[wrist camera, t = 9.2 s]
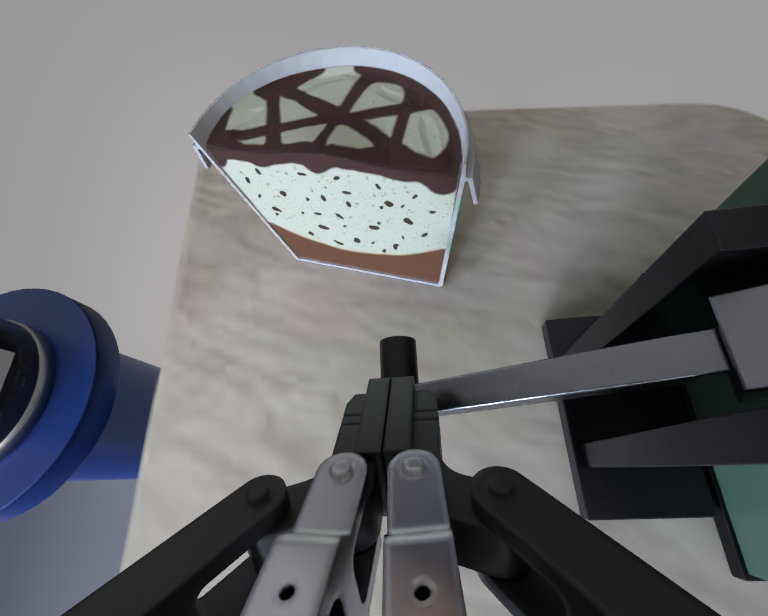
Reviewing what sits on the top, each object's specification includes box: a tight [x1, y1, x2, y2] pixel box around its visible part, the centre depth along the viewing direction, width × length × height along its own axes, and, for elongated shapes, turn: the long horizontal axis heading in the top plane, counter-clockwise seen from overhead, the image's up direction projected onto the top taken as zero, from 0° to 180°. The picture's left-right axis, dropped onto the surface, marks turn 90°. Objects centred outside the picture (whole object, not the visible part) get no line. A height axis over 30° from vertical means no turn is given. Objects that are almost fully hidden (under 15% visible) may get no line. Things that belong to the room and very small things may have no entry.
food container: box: [189, 46, 480, 287], centre depth 20 cm, size 12×6×10 cm, turn 74°
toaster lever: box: [380, 283, 768, 416], centre depth 12 cm, size 13×5×2 cm, turn 93°
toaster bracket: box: [542, 204, 768, 520], centre depth 13 cm, size 5×9×13 cm, turn 2°
